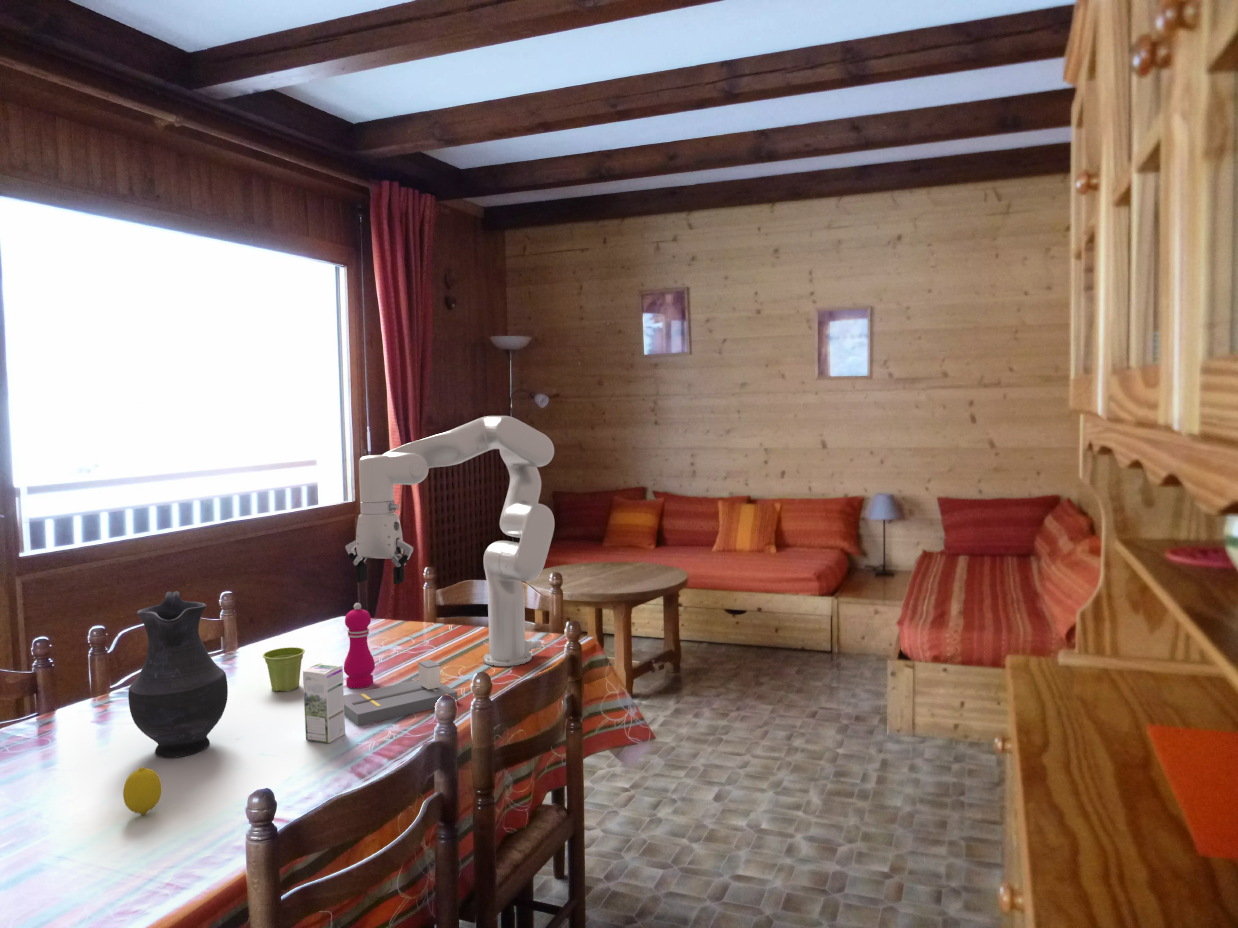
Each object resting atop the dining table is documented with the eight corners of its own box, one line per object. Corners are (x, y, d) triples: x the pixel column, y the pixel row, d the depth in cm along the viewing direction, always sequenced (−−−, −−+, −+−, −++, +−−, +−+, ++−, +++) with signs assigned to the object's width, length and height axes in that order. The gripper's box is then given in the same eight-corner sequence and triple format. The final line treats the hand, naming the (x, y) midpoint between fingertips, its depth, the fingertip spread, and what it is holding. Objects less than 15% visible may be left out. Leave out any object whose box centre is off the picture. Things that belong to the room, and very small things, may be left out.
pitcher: (129, 773, 160) (121, 612, 158) (133, 736, 178) (126, 591, 176) (232, 754, 168) (226, 601, 166) (226, 721, 186) (220, 583, 184)
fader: (431, 681, 202) (430, 659, 202) (440, 686, 198) (440, 664, 198) (418, 684, 200) (418, 661, 200) (428, 689, 196) (427, 667, 196)
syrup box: (346, 733, 178) (344, 664, 177) (328, 744, 172) (325, 672, 171) (323, 730, 180) (320, 661, 179) (304, 741, 174) (301, 670, 173)
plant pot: (272, 697, 202) (271, 660, 201) (258, 687, 209) (257, 652, 208) (312, 688, 208) (310, 652, 207) (297, 679, 215) (295, 644, 214)
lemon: (134, 807, 146) (131, 761, 145) (168, 806, 146) (166, 759, 146) (118, 823, 140) (115, 775, 140) (153, 821, 141) (151, 773, 140)
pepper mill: (379, 680, 213) (377, 599, 212) (368, 689, 206) (366, 606, 205) (351, 679, 214) (349, 599, 213) (339, 688, 207) (336, 606, 206)
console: (430, 687, 207) (430, 676, 207) (457, 702, 196) (457, 691, 196) (335, 708, 193) (334, 696, 193) (358, 725, 182) (357, 713, 182)
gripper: (419, 507, 201) (421, 580, 202) (354, 506, 206) (357, 577, 207) (401, 511, 193) (404, 587, 195) (335, 510, 199) (338, 583, 200)
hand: (380, 582), depth 201 cm, fingers open, 9 cm apart
